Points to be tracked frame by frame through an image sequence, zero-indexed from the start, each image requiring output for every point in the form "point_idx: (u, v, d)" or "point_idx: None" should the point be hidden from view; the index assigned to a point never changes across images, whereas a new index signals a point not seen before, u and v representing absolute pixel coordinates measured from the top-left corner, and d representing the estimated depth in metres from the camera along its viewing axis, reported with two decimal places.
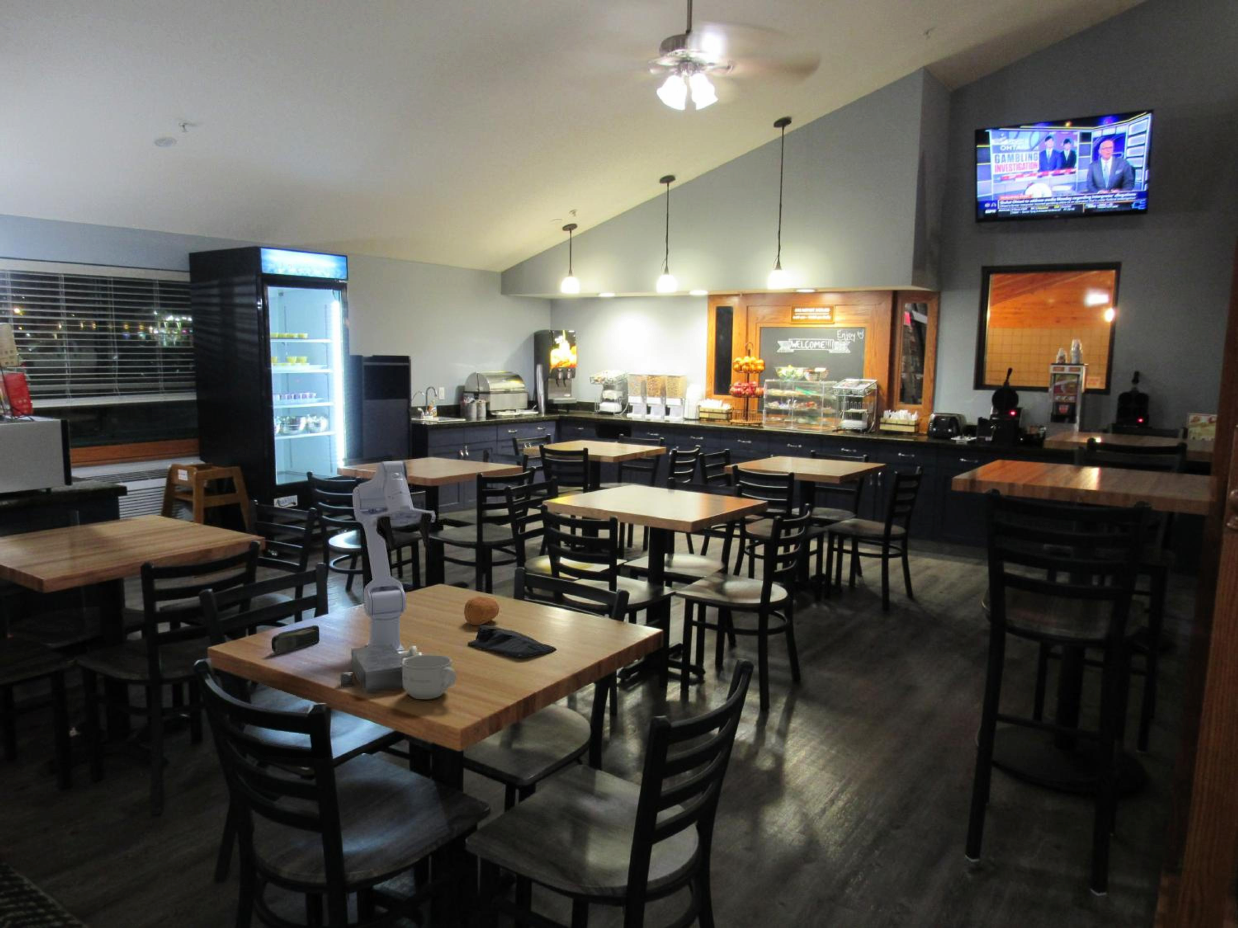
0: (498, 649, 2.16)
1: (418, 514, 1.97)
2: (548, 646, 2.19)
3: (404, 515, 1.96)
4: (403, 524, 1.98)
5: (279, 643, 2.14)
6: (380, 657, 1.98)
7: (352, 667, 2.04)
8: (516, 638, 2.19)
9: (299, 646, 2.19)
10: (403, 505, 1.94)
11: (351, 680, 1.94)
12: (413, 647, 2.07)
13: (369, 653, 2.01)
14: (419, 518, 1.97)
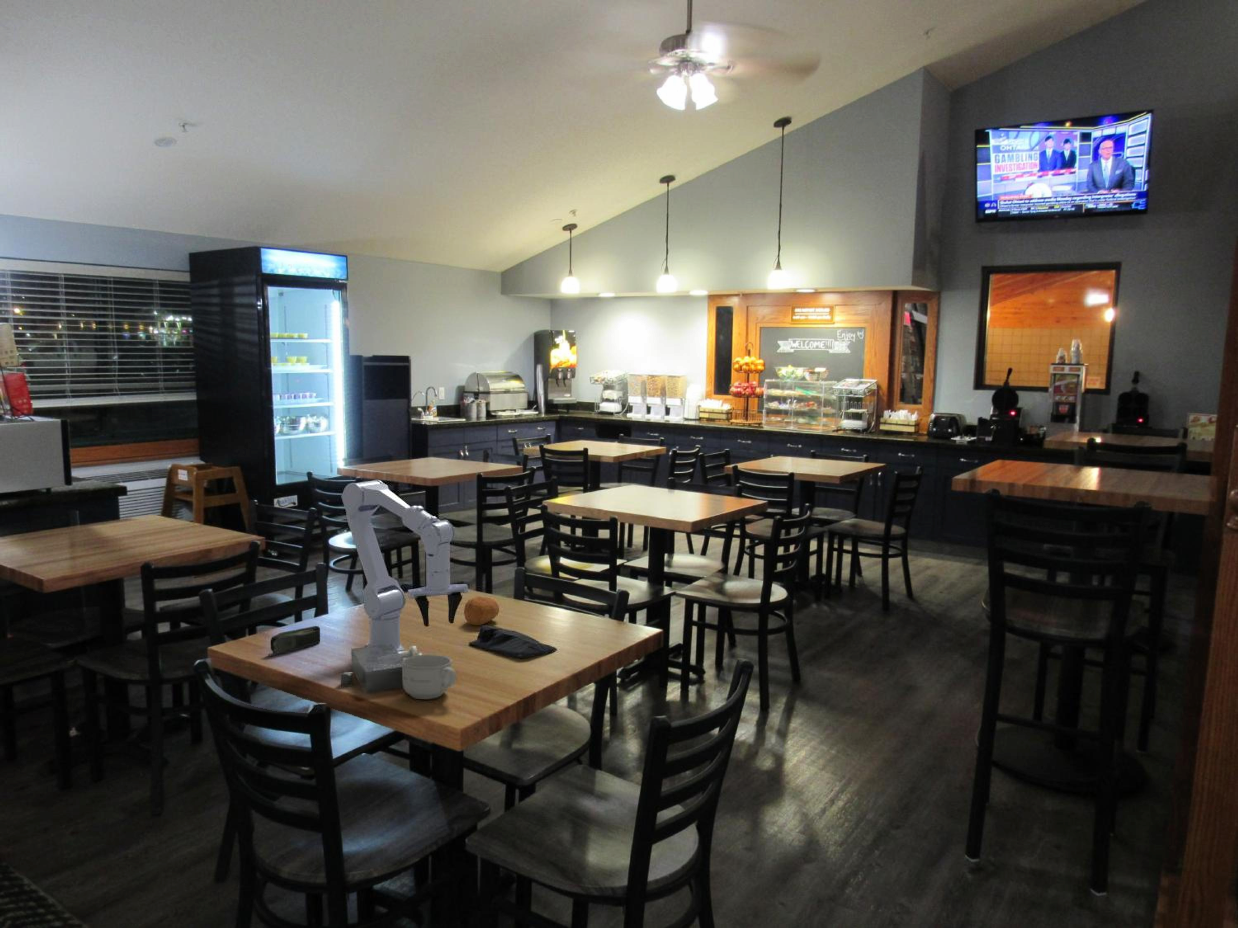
0: (499, 649, 2.16)
1: None
2: (549, 646, 2.18)
3: None
4: None
5: (277, 643, 2.14)
6: (380, 657, 1.98)
7: (352, 667, 2.04)
8: (517, 638, 2.19)
9: (299, 646, 2.18)
10: (441, 593, 2.05)
11: (351, 680, 1.94)
12: (413, 647, 2.07)
13: (369, 653, 2.01)
14: (453, 592, 2.11)
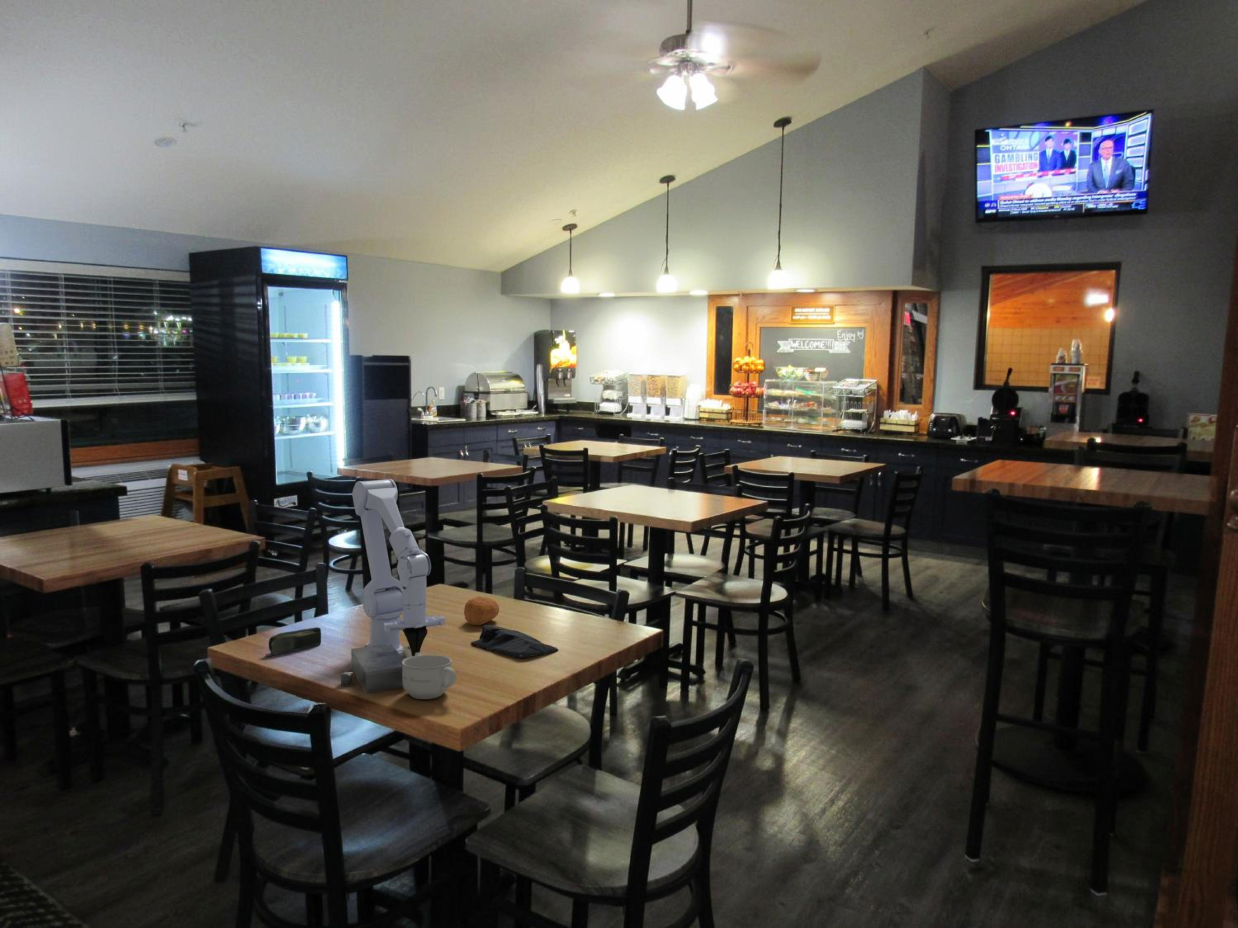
0: (500, 649, 2.16)
1: None
2: (550, 647, 2.18)
3: None
4: None
5: (275, 644, 2.13)
6: (380, 657, 1.98)
7: (352, 667, 2.04)
8: (518, 638, 2.19)
9: (298, 647, 2.17)
10: (417, 626, 2.03)
11: (351, 680, 1.94)
12: (407, 648, 2.06)
13: (369, 653, 2.01)
14: (429, 625, 2.09)
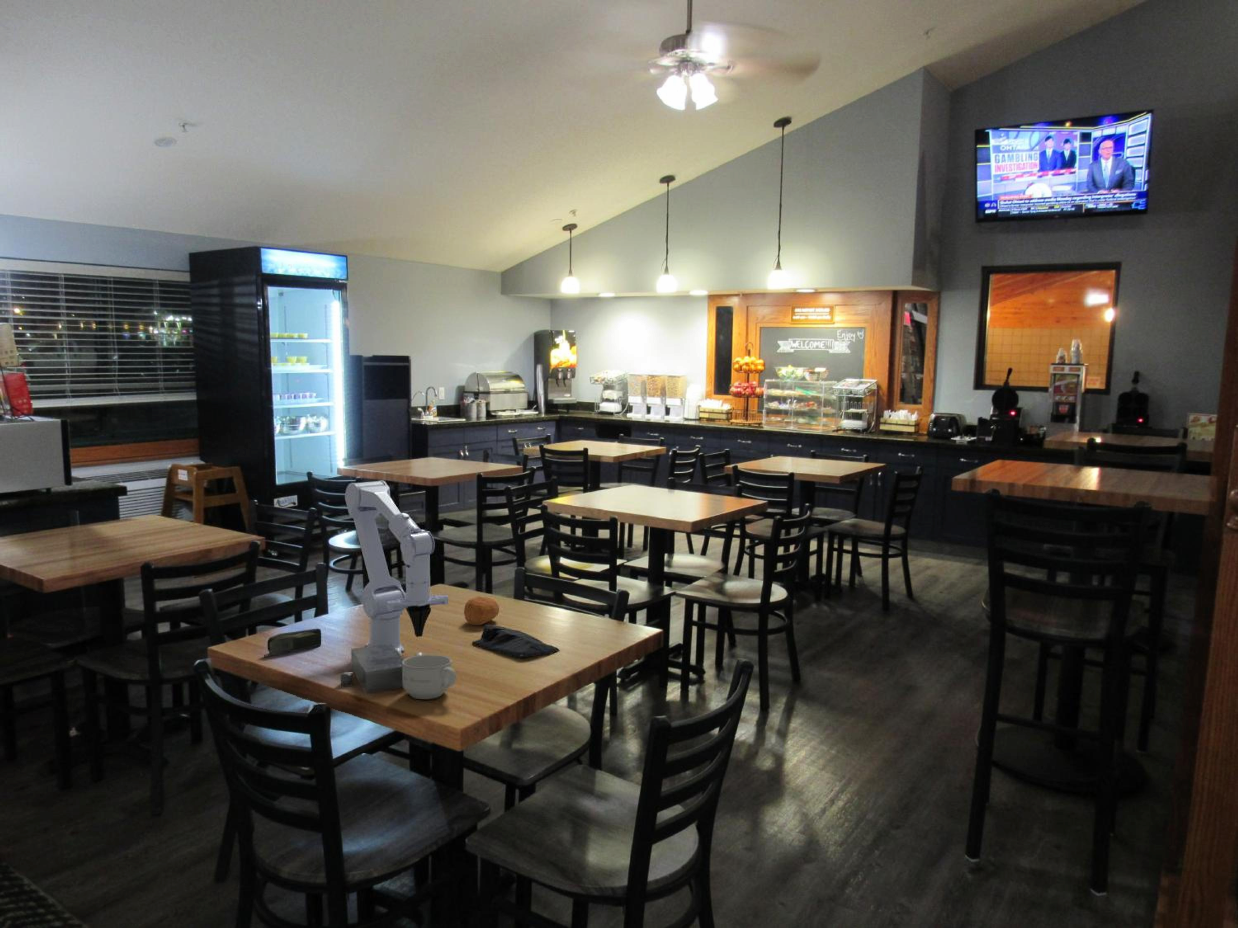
0: (501, 649, 2.16)
1: None
2: (551, 647, 2.18)
3: None
4: None
5: (273, 644, 2.13)
6: (380, 657, 1.98)
7: (352, 667, 2.04)
8: (519, 638, 2.19)
9: (297, 648, 2.17)
10: (420, 604, 2.03)
11: (351, 680, 1.94)
12: (397, 649, 2.05)
13: (369, 653, 2.01)
14: (433, 603, 2.08)
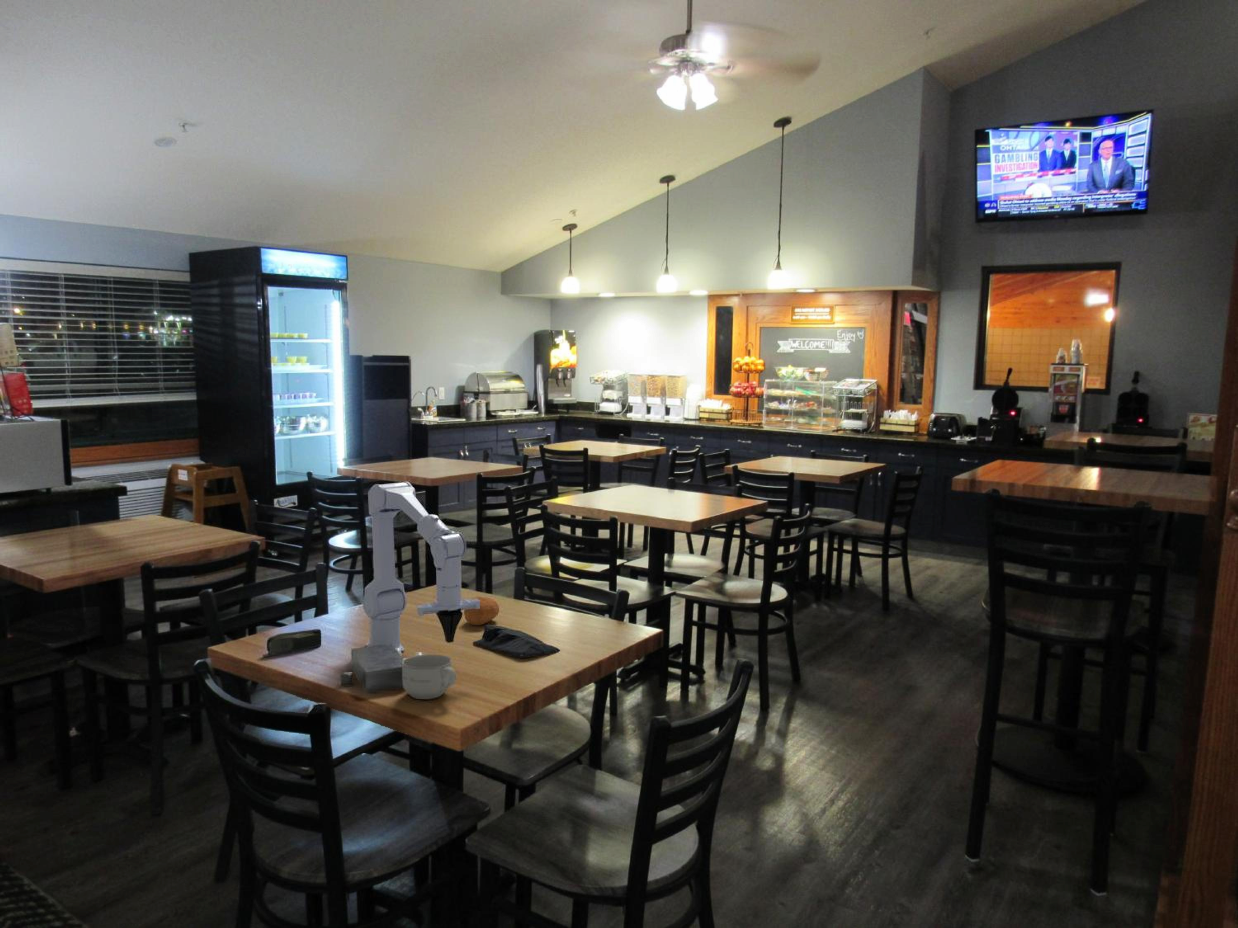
0: (501, 649, 2.16)
1: None
2: (551, 647, 2.18)
3: None
4: None
5: (272, 644, 2.13)
6: (380, 657, 1.98)
7: (352, 667, 2.04)
8: (520, 638, 2.19)
9: (296, 649, 2.16)
10: (452, 609, 1.96)
11: (351, 680, 1.94)
12: (397, 649, 2.05)
13: (369, 653, 2.01)
14: (464, 608, 2.01)
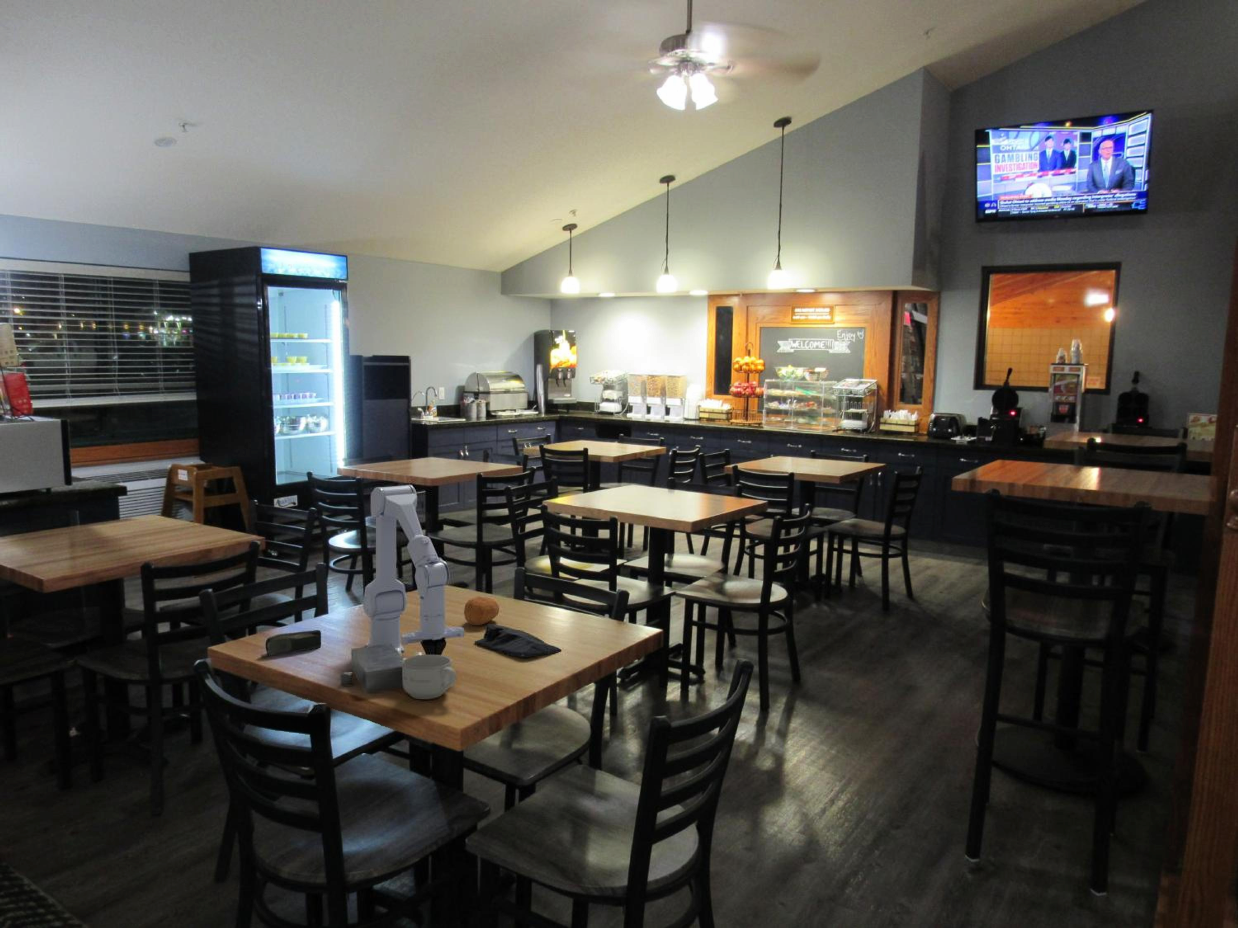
0: (502, 649, 2.16)
1: None
2: (553, 647, 2.18)
3: None
4: None
5: (271, 645, 2.13)
6: (380, 657, 1.98)
7: (352, 667, 2.04)
8: (521, 638, 2.19)
9: (295, 650, 2.16)
10: (435, 638, 1.94)
11: (351, 680, 1.94)
12: (397, 649, 2.05)
13: (369, 653, 2.01)
14: (448, 636, 2.00)
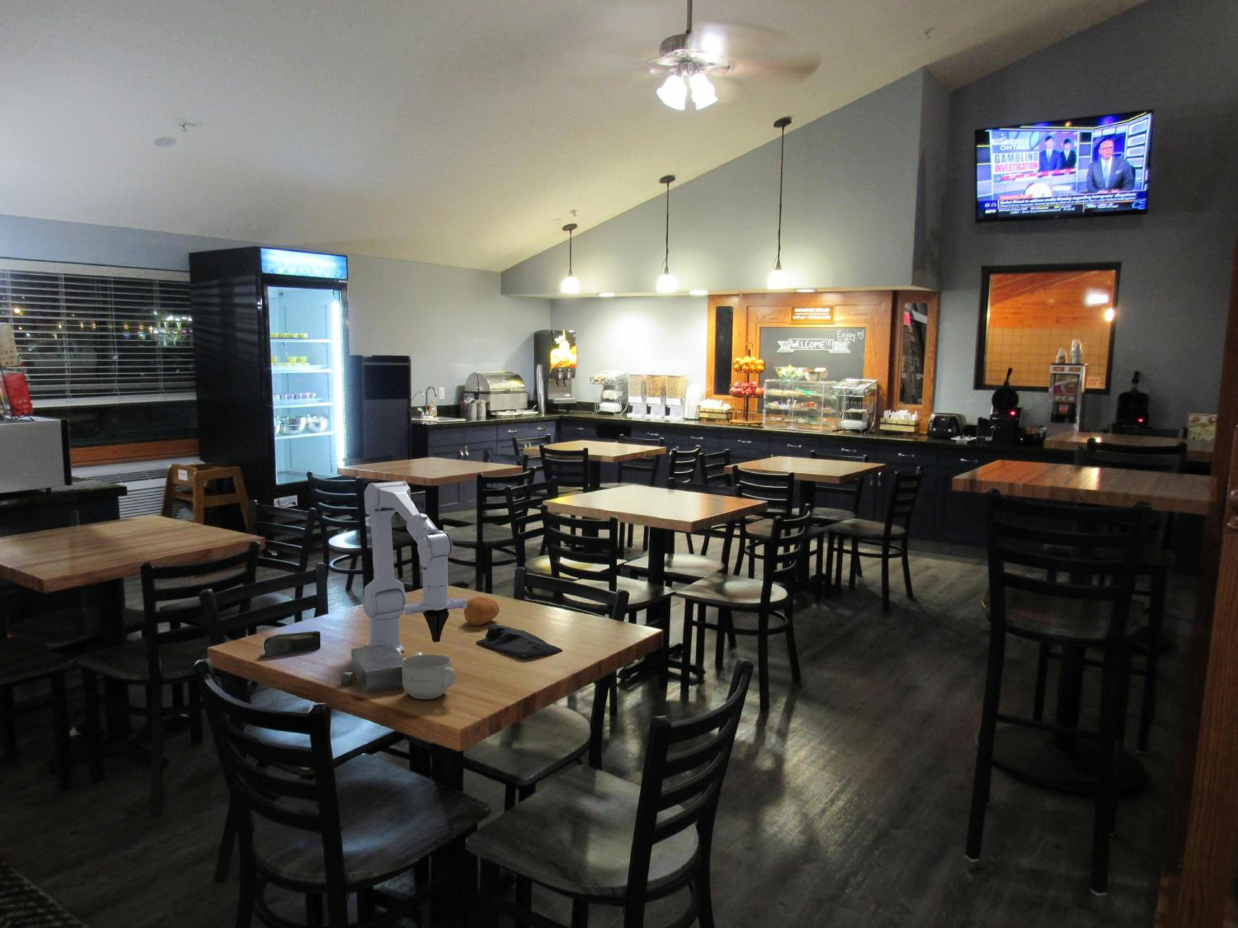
0: (503, 648, 2.17)
1: None
2: (554, 647, 2.18)
3: None
4: None
5: (269, 645, 2.12)
6: (380, 657, 1.98)
7: (352, 667, 2.04)
8: (522, 638, 2.19)
9: (293, 650, 2.15)
10: (438, 608, 1.95)
11: (351, 680, 1.94)
12: (397, 649, 2.05)
13: (369, 653, 2.01)
14: (451, 607, 2.00)
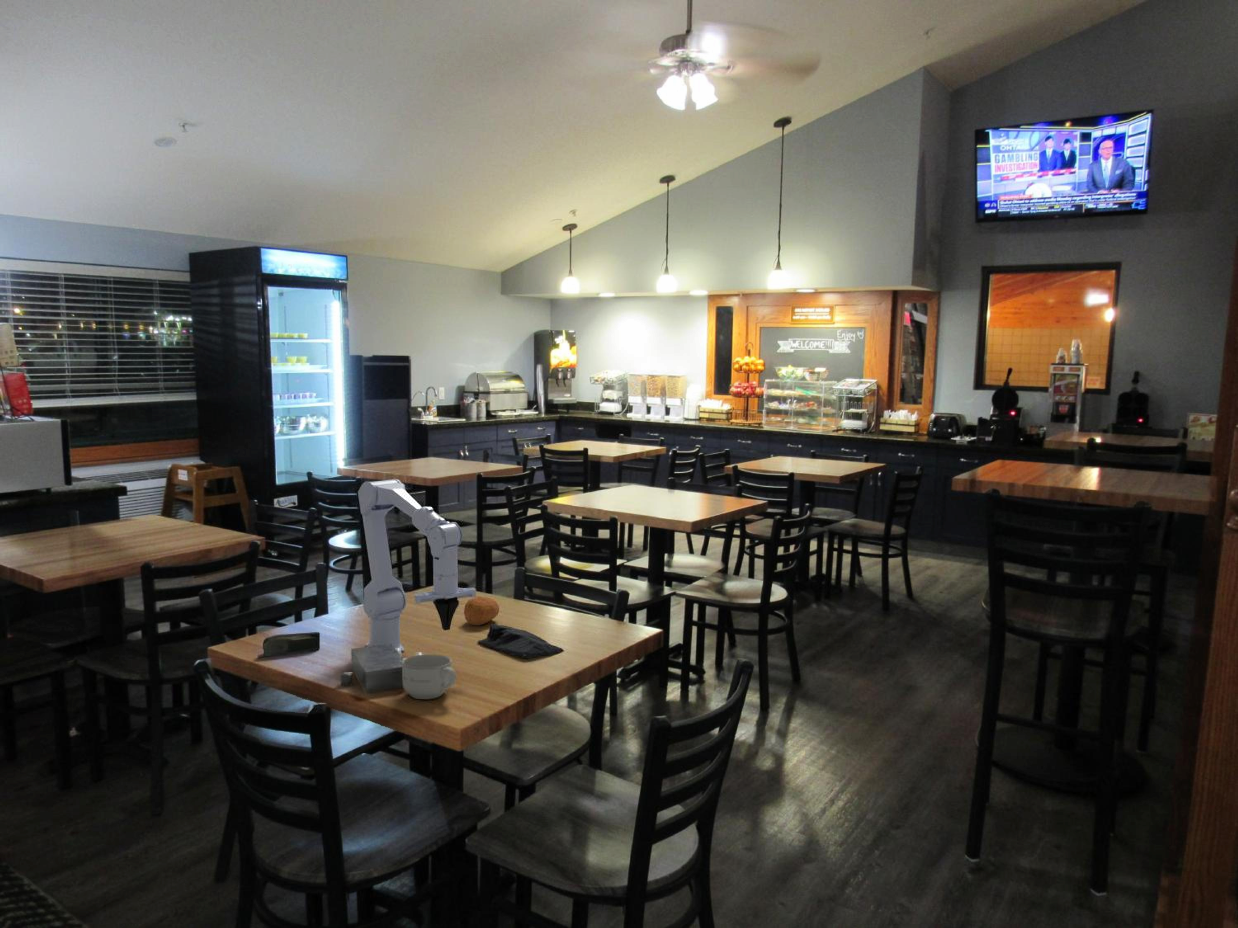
0: (505, 648, 2.17)
1: None
2: (555, 647, 2.18)
3: None
4: None
5: (267, 645, 2.12)
6: (380, 657, 1.98)
7: (352, 667, 2.04)
8: (524, 638, 2.20)
9: (292, 651, 2.15)
10: (448, 597, 2.00)
11: (351, 680, 1.94)
12: (397, 649, 2.05)
13: (369, 653, 2.01)
14: (460, 596, 2.05)
